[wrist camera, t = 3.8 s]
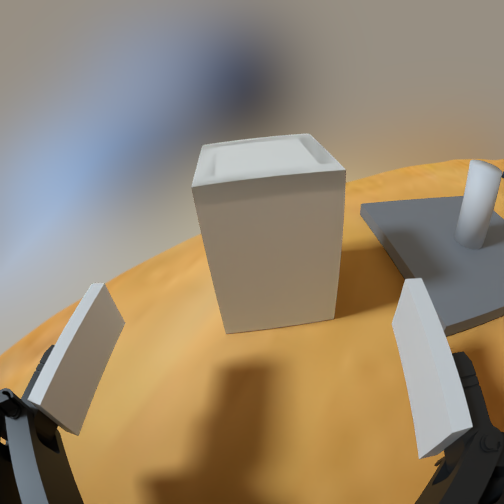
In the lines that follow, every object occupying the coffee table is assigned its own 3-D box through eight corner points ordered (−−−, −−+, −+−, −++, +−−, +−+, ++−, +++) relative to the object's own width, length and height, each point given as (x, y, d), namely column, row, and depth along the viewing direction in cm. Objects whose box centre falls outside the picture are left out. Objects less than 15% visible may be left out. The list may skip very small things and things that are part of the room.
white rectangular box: (310, 255, 25) (309, 133, 19) (333, 318, 19) (345, 169, 13) (225, 266, 25) (202, 145, 19) (226, 333, 19) (191, 187, 13)
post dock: (473, 204, 29) (484, 140, 24) (557, 290, 16) (590, 213, 11) (360, 214, 29) (364, 135, 24) (440, 338, 16) (484, 229, 11)
